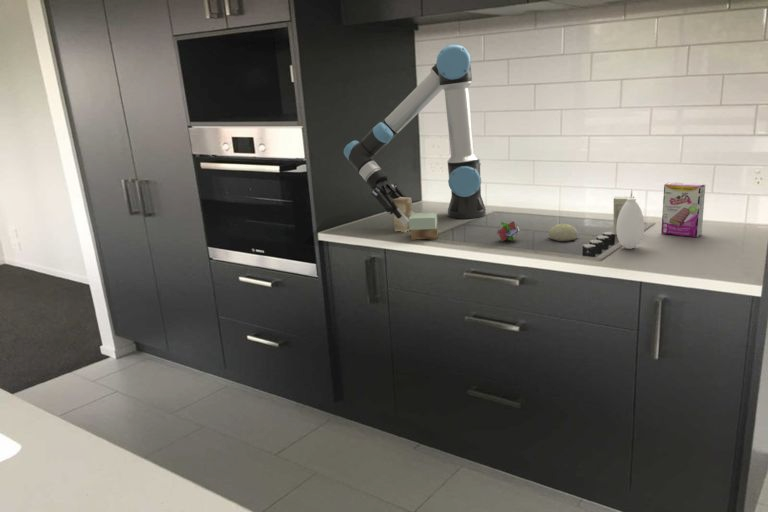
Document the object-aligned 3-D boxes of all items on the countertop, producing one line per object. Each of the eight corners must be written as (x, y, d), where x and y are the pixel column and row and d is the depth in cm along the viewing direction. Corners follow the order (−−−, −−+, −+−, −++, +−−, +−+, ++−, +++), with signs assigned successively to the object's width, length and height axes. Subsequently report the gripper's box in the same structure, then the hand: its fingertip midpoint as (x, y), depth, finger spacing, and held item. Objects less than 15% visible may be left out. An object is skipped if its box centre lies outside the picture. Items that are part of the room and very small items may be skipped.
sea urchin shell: (578, 229, 210) (578, 216, 203) (577, 249, 206) (576, 237, 199) (550, 229, 213) (548, 216, 206) (548, 249, 209) (547, 237, 202)
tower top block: (437, 223, 224) (436, 212, 223) (435, 229, 216) (434, 217, 215) (412, 224, 226) (411, 213, 225) (409, 229, 217) (408, 218, 216)
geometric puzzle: (500, 239, 203) (512, 217, 203) (488, 235, 209) (500, 214, 209) (515, 249, 206) (527, 228, 206) (502, 244, 212) (514, 224, 212)
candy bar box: (660, 234, 204) (663, 184, 199) (666, 230, 207) (668, 181, 203) (697, 238, 196) (700, 186, 192) (702, 234, 200) (706, 183, 195)
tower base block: (437, 233, 226) (437, 223, 225) (437, 240, 217) (437, 228, 216) (412, 234, 227) (412, 224, 226) (411, 241, 218) (410, 229, 217)
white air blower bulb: (640, 252, 185) (643, 192, 180) (613, 250, 189) (614, 191, 184) (645, 246, 191) (648, 187, 187) (618, 244, 195) (620, 186, 191)
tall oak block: (402, 228, 237) (400, 197, 233) (413, 229, 234) (411, 197, 230) (394, 231, 233) (392, 199, 230) (405, 232, 230) (403, 200, 227)
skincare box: (634, 232, 208) (635, 196, 204) (633, 235, 204) (634, 198, 201) (613, 231, 210) (614, 196, 207) (612, 235, 207) (613, 198, 203)
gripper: (383, 178, 245) (420, 223, 239) (353, 186, 231) (391, 233, 226) (393, 165, 240) (431, 210, 234) (363, 172, 227) (402, 220, 221)
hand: (411, 221), depth 230 cm, fingers closed on tall oak block, 5 cm apart
